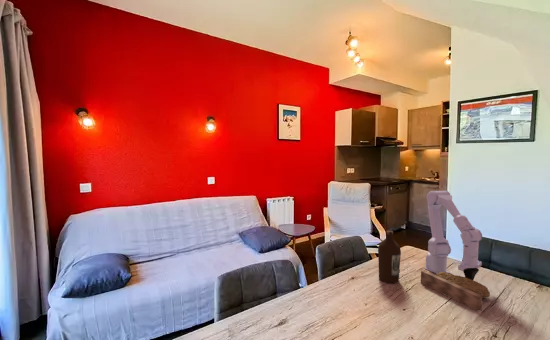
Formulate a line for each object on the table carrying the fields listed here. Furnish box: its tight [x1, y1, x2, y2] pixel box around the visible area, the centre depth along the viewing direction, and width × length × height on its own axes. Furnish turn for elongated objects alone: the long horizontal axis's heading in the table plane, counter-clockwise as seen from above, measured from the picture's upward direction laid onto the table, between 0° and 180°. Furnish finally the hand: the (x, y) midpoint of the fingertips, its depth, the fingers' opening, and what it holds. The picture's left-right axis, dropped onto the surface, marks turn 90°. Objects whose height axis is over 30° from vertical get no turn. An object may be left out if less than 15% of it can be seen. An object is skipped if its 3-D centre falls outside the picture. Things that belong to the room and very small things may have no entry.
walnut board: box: [420, 269, 483, 312], centre depth 120 cm, size 26×2×6 cm, turn 23°
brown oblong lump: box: [435, 272, 491, 299], centre depth 124 cm, size 13×8×20 cm
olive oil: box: [377, 230, 402, 285], centre depth 135 cm, size 11×11×25 cm
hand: (469, 282), depth 126 cm, fingers closed
